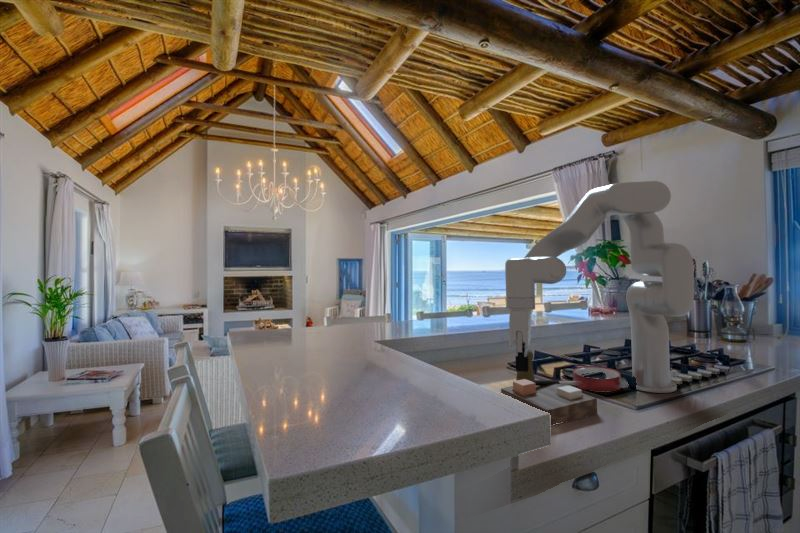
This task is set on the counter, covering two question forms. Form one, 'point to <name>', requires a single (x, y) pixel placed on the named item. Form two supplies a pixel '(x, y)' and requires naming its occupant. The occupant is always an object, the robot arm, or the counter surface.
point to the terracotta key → (524, 387)
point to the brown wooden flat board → (556, 403)
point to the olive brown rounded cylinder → (530, 373)
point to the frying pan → (589, 379)
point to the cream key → (569, 392)
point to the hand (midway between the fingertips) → (522, 370)
